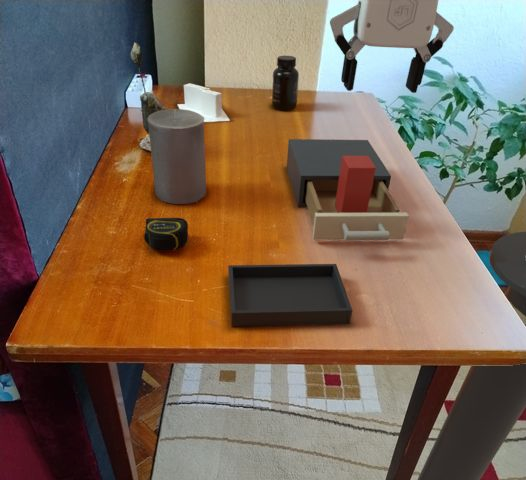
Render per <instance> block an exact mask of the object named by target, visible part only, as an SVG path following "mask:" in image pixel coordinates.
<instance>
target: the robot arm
mask: <svg viewBox="0 0 526 480" xmlns="http://www.w3.org/2000/svg"><path fill="white" fill-rule="evenodd" d="M438 5H439V0H357V4H356V5H354V6H353V7H350V8H348V9H346V10H343V12H341V13H339V14H337V15H335V16H333V17H332V18H330V20H329V26H330V29H331V33H332V35H333V39H334V42H335V43H336V45H337V46H338V48H339V50H340V51H341V52H342V54H343V55H344V56H343V64H342V71H341V77H340V79H341V82H342V83H343V87H344V88H345V89H346V91H348V92H351V91H353V90H354V85H355V80H356V73H357V67H358V60H357V58H356V56H357V55H358V54H359V53H360V52H361V50H363V48H364V47H365V46H367V47H376V48H397V49H413V51H414V53H415V55H414V56H413V57H412V58H411V60H410V64H409V68H408V73H407V78H406V82H405V87H406V88H407V90H408V91H410V92H411V93H412V94H416V93H417V91H418V87H419V86H421V84H422V81H423V78H424V73H425V69H426V65H427V63H430V61H431V59H432V57H433V56H434V55H436V54H437V53H439V51H440V50H441V49H442V48H443V47H444V43H445V42H446V41H447V40H448V38H449V37H450V36H451V34H452V33H453V31H454V27H455V26H454V25H453V24H452V23H450V22H449V21H448V20H447V19H446V18H444V16H443V15H441V14H440V13H439V12H438ZM351 22H353V36H351V38H350V39H349V40H347V39H346V38H345V35H344V30H343V28H344V26H347V25H348V24H350V23H351ZM434 27H436V28H437V30H438V31H437V33H436V34H435V35H436V36H435V37H433V38H432V39H431V37H432V35H433V30H434ZM525 257H526V256H525Z"/></svg>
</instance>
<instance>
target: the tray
mask: <svg viewBox="0 0 526 480" xmlns="http://www.w3.org/2000/svg"><path fill="white" fill-rule="evenodd" d="M227 268H228V269H227V272H228V275H227V276H228V277H227V278H228V279H227V280H228V294H229V295H228V296H229V309H230V323H231V324H230V325H231V328H234V327H235V328H237V327H239V328H241V327H272V326H273V327H276V326H279V327H280V326H316V325H317V326H319V325H349V324H351V319H352V315H353V311H354V310H353V307H352V305H351V302H350V299H349V296H348V294H347V290H346V288H345V285H344V282H343V280H342V276H341V274H340V270H339V268H338V265H337V263H308V264H307V263H299V264H297V263H296V264H295V263H293V264H289V263H288V264H233V265H232V264H229V265H228V267H227Z"/></svg>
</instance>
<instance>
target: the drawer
mask: <svg viewBox="0 0 526 480" xmlns="http://www.w3.org/2000/svg"><path fill="white" fill-rule="evenodd" d="M338 181H339V180H305V185H304V198H305V201H306V204H307V207H306V208H307V210H308V213H309V217H310V219H311V222H312V225H313V226H312V234H311V237H312V240H314V241H323V240H324V241H326V240H327V241H330V240H333V241H336V240H337V241H338V240H339V241H340V240H343V241H389V240H404V236H405V232H406V230H407V229H406V228H407V225H408V222H409V217H410V215H409V213H408V212H401V208H400V207H399V205H398V204H397V202H396V201H395V199H394V198H393V195H392V194H391V192H390V191H389V188H388V189H387V188H386V186H385V184H384V183H383V181H382V180H373V184H372V189H371V194H370V199H369V204H368V209H367V213H338V212H337V209H336V207H335V201H336V194H337V187H338Z"/></svg>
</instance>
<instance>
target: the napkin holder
mask: <svg viewBox="0 0 526 480" xmlns="http://www.w3.org/2000/svg"><path fill="white" fill-rule="evenodd" d="M183 95H184V103H177V108H178V109H183V110H190V111H194V112H196V113H198V114H200V115H202V116H203V117H204V123H214V122H215V123H216V122H230V121H231V119H230V118H229V116H228V115H227V114H226V112H225V111H224V110H223V107H222V106H223V105H222V104H223V102H222V97H223V96H222V93H221V92H218V91H214V90H211V88H209V87H205V86H202V85H198V84H194V83H191V82H190V83H189V82H188V83H186V84H183Z"/></svg>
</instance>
